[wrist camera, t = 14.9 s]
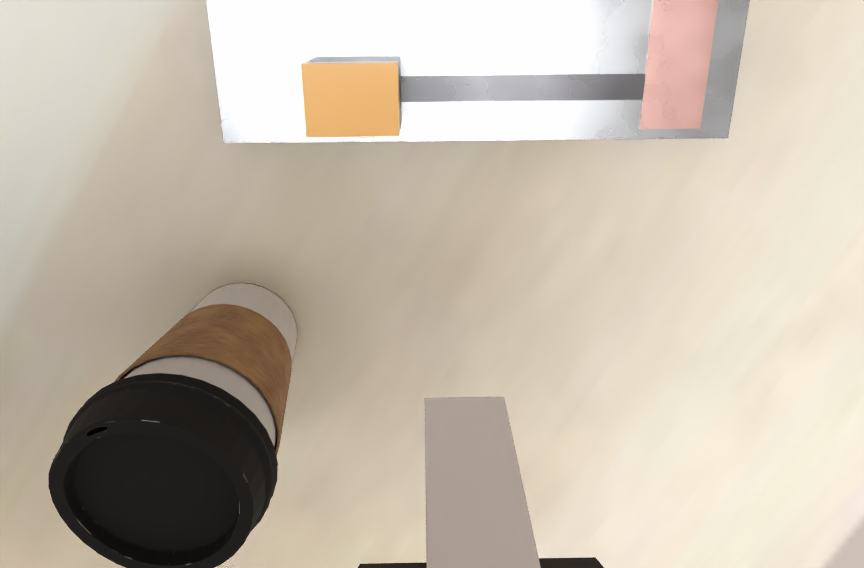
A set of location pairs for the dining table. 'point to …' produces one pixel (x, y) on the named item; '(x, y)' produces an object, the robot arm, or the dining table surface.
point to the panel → (489, 66)
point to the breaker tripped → (352, 96)
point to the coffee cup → (183, 438)
